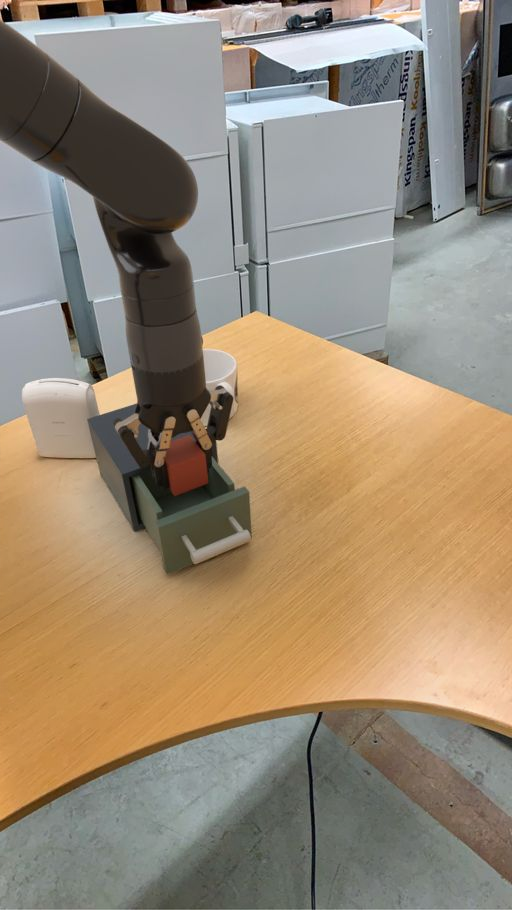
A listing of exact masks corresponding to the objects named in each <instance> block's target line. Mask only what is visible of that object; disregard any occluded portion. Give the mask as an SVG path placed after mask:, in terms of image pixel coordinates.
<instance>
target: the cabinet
mask: <svg viewBox="0 0 512 910" xmlns="http://www.w3.org/2000/svg"><path fill="white" fill-rule="evenodd" d="M136 406H137V402H136V403H134V404H130V405H127V406H124V407H121V408H118V409H117V408H116V409H115V410H111V411H108V412H105V413H102V414H100V415H98V416H95V417H92V418H89V419H87V421H88V425H89V430H90V434H91V438H92V442H93V446H94V451H95V455H96V458H95V459H96V464H97V467H98V470H99V474H100V476H101V478H102V480H103V481H104V483H105V485H106V487H107V488H108V490H109V492H110V493H111V495H112V497H113V499H114V500H115V502H116V504H117V506H118V507H119V509H120V511H121V512H122V514H123V516H124V517H125V519H126V520H127V522H128V525H129V526H130V528H131V529H132V531H133V532H134V533H135V532H138V531H140V530H142V529H146V527H145V525H144V524H143V522H142V520H141V519H140V517H139V516H138V514H137V512H136V509H135V504H134V499H133V495H132V490H131V485H130V480H129V477H131V476H134V475H137V474H140V473H142V472H145V471H148V470H151V465H148V466H147V467H146V468H140V467H139V465H138V464H137V462H136V461H135V459H134V458H133V457H132V455H131V453H130V452H129V450H128V449H127V447H126V445H125V444H124V442H123V441H122V439H121V438H120V436H119V434H118V433H117V431H116V430H115V428H114V426H113V421H114V420H115V419H117V418H121V419H122V420H125V419H127V418H128V417H130V416H131V415H133V414H135V408H136ZM148 429H149V428H147V427H146V426H145V425H143V424H142V423H141V424H140V425H139V427H138V430H139V434H138V437H137V438H135V439H136V441H137V443H138V444H139V446H140V447H141V449H142V450H147V447H148V441H149V438H148ZM188 435H190V436H191V438H192V439H193V440H194V441H195V442H196V440H195V438H194V437H193V435H192V433H191V431H190V432H187V433H180V434H178V435H177V436H175V437H173V438H171V441H173V440H176V439H179V438H182V437H185V436H188ZM218 454H219V453H218V444H217V440H216V441H215V442H214V443H213V444H212V447H211V456H212V457H213V458H214V459H215V461H216V462H217V463H218V464H219V456H218Z"/></svg>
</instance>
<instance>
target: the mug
mask: <svg viewBox="0 0 512 910" xmlns="http://www.w3.org/2000/svg"><path fill="white" fill-rule="evenodd" d="M203 357H204V368H205V378H206V388H207V390H215V388H216V387H217V386H219V385H221V386H223V387H224V388H225V389H226V390H227V391H228V392H229V393H230V394H231V395H232V396H233V404H232V408H231V413H230V417H229V420H230V419H231V418H233V417H234V416H235V415H236V413H237V412H238V407H239V405H238V404H239V402H238V401H239V398H238V397H239V396H238V392H239V391H238V363H237V360H236V358H235V357H233V355H232V354H230V353H228V352H226V351H223V350H220V349H214V348H203ZM210 410H211V405H210V402H209V404H208V406H207V408H206V410H205V412H204V413H203V415H202V417H201V419H200V420H201V422H202V423H203V425H204V427H207V425H208V420H209V415H210Z"/></svg>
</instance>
